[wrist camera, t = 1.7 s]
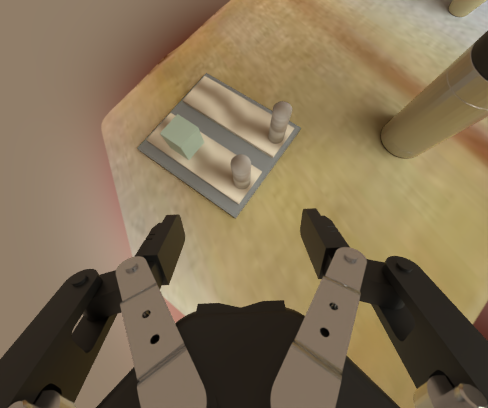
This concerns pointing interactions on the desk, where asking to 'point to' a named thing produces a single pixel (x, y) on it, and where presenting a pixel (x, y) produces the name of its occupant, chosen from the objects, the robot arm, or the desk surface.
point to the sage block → (182, 136)
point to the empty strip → (242, 116)
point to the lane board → (227, 141)
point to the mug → (464, 7)
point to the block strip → (213, 164)
